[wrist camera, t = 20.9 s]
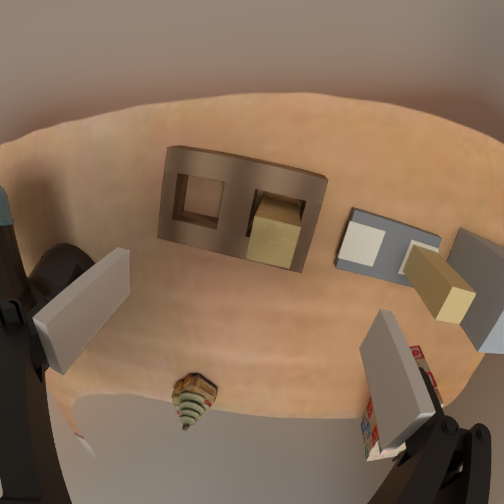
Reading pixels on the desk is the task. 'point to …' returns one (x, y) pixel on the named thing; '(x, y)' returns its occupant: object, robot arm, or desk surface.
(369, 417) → the stack of blocks
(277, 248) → the brass pin
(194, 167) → the socket board
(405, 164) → the desk surface
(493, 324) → the block
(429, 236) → the board
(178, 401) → the ornament
